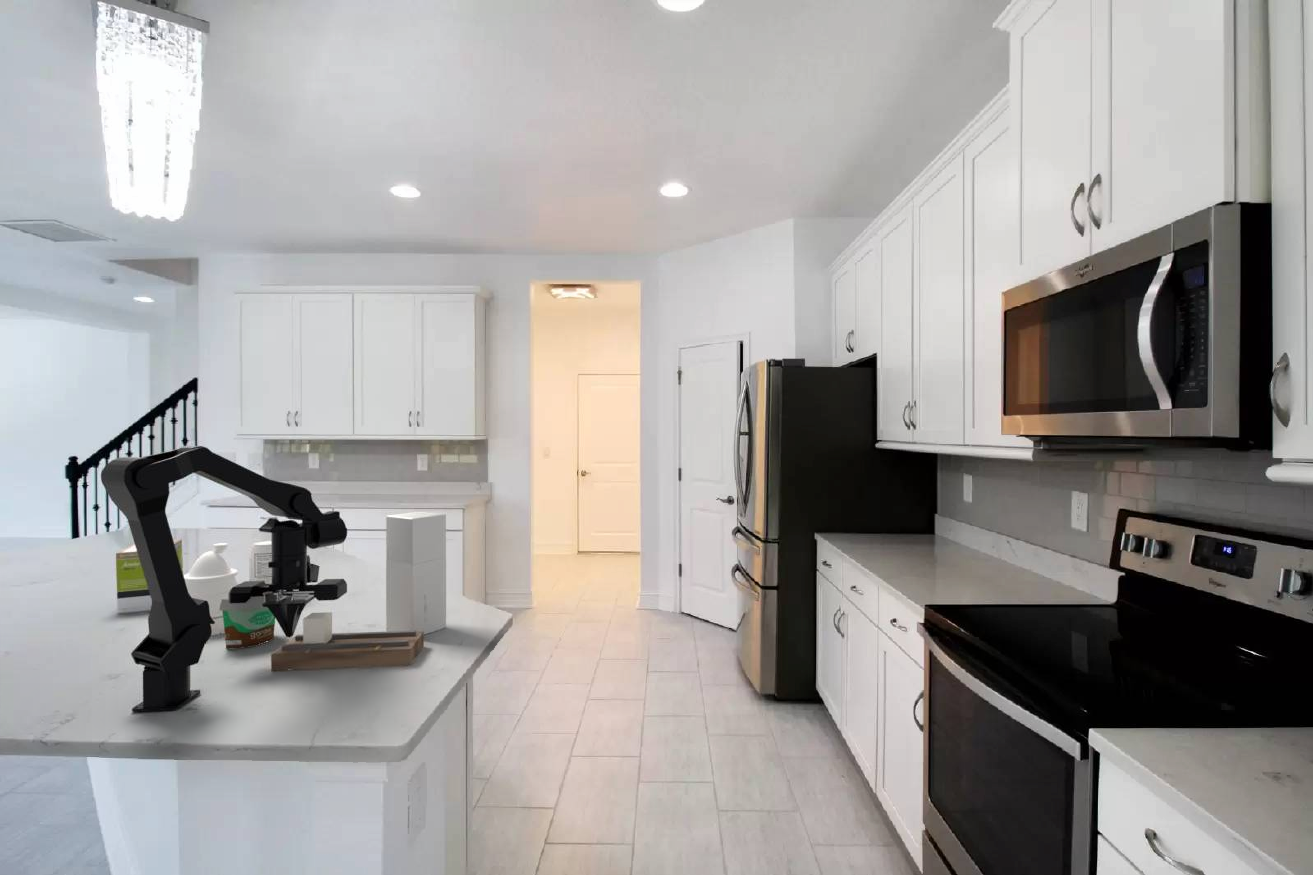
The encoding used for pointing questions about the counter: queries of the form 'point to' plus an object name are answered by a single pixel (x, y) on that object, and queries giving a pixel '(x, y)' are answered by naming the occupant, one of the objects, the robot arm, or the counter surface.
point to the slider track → (350, 651)
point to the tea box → (135, 580)
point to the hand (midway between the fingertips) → (289, 636)
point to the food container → (247, 623)
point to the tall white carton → (416, 572)
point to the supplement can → (260, 562)
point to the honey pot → (212, 583)
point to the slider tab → (317, 628)
